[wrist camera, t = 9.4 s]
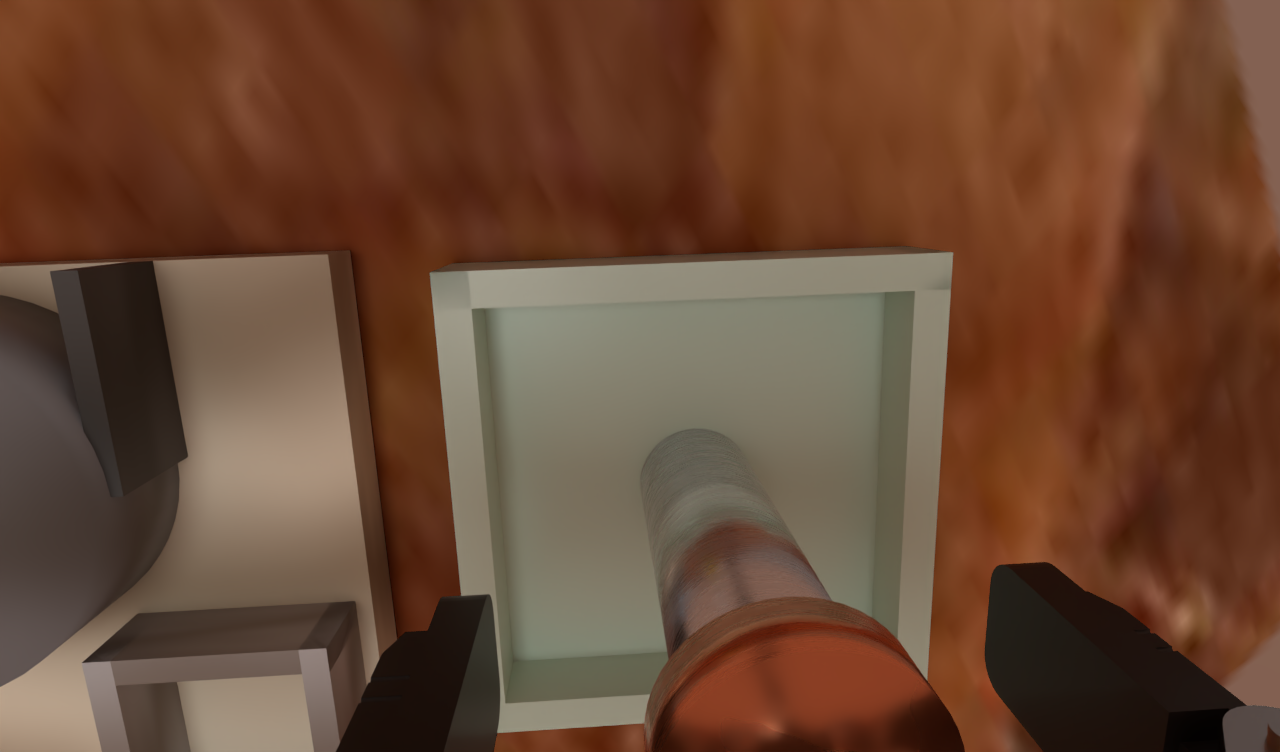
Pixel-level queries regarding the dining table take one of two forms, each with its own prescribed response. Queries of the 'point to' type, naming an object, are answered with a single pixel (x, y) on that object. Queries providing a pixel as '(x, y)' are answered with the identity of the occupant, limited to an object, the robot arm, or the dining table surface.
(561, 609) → the tray
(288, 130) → the dining table surface
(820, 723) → the pin
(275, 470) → the pulley board
